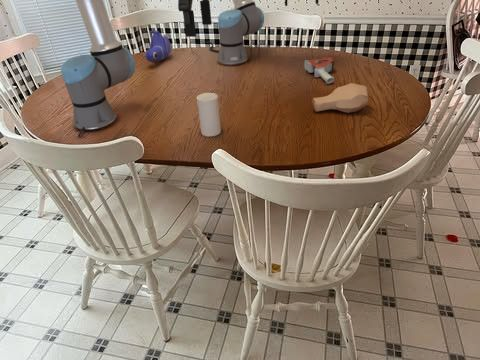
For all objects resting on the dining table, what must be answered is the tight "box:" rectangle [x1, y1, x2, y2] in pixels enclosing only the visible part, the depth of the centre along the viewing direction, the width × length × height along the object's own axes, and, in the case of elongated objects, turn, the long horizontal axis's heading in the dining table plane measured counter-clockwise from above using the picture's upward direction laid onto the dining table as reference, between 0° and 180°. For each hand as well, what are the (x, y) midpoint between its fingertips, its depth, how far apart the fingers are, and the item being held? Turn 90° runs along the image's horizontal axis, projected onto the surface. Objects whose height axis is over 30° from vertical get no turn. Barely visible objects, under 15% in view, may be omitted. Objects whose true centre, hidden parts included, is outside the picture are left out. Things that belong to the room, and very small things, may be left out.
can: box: [196, 92, 222, 138], centre depth 119 cm, size 7×7×13 cm
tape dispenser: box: [304, 56, 335, 85], centre depth 159 cm, size 18×5×20 cm
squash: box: [312, 82, 369, 113], centre depth 129 cm, size 11×20×9 cm, turn 92°
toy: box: [144, 30, 172, 67], centre depth 185 cm, size 10×17×25 cm
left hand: (199, 30), depth 103 cm, fingers open, 13 cm apart
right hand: (301, 4), depth 157 cm, fingers open, 13 cm apart
